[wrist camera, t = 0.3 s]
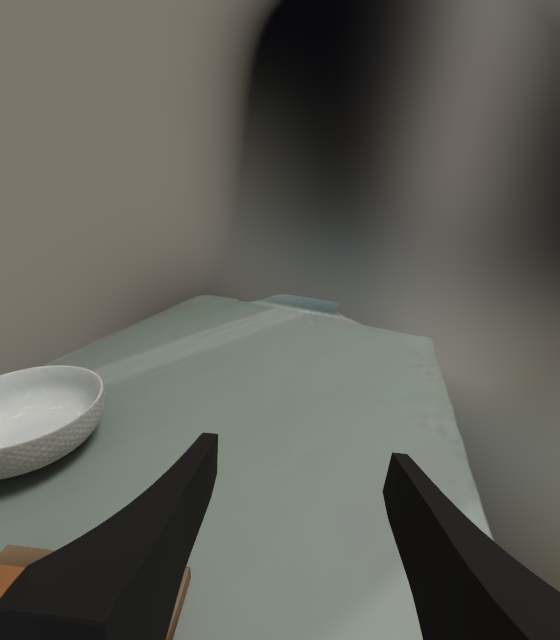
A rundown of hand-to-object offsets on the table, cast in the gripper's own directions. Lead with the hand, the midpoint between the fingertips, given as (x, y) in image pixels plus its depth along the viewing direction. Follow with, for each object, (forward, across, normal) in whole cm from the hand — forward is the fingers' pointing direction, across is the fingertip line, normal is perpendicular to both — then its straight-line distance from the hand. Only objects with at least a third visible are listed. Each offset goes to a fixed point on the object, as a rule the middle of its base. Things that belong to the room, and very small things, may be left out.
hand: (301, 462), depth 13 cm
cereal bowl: (+20, +31, +20) cm, 42 cm away
